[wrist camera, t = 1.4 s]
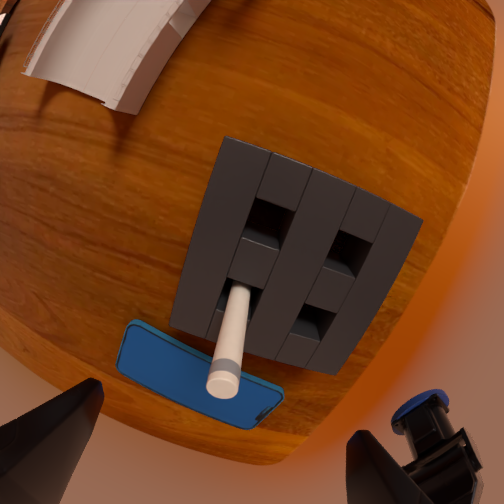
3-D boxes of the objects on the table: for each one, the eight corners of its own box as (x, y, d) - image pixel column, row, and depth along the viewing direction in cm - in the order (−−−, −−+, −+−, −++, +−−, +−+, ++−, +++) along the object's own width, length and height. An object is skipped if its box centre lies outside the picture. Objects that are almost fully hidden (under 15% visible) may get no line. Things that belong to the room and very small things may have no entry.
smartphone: (128, 318, 21) (289, 394, 22) (133, 312, 22) (289, 386, 23) (113, 369, 23) (249, 432, 25) (117, 363, 24) (250, 425, 26)
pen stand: (396, 206, 18) (423, 220, 14) (326, 342, 22) (335, 375, 18) (233, 139, 17) (224, 135, 13) (183, 296, 21) (168, 326, 17)
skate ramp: (141, -55, 10) (120, -83, 6) (278, -29, 12) (280, -69, 7) (48, 79, 15) (7, 71, 10) (167, 129, 17) (133, 123, 12)
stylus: (256, 272, 20) (245, 390, 10) (244, 283, 20) (223, 403, 10) (244, 260, 20) (220, 373, 9) (231, 271, 20) (198, 387, 10)
